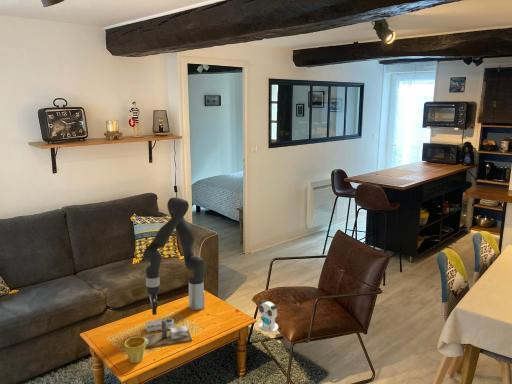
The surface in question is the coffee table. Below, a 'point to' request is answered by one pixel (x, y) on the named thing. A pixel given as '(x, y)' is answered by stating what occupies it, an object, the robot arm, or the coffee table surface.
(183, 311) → the coffee table surface
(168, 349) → the coffee table surface
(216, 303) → the coffee table surface
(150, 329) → the hinge leaf
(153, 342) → the hinge base
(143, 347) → the plant pot
